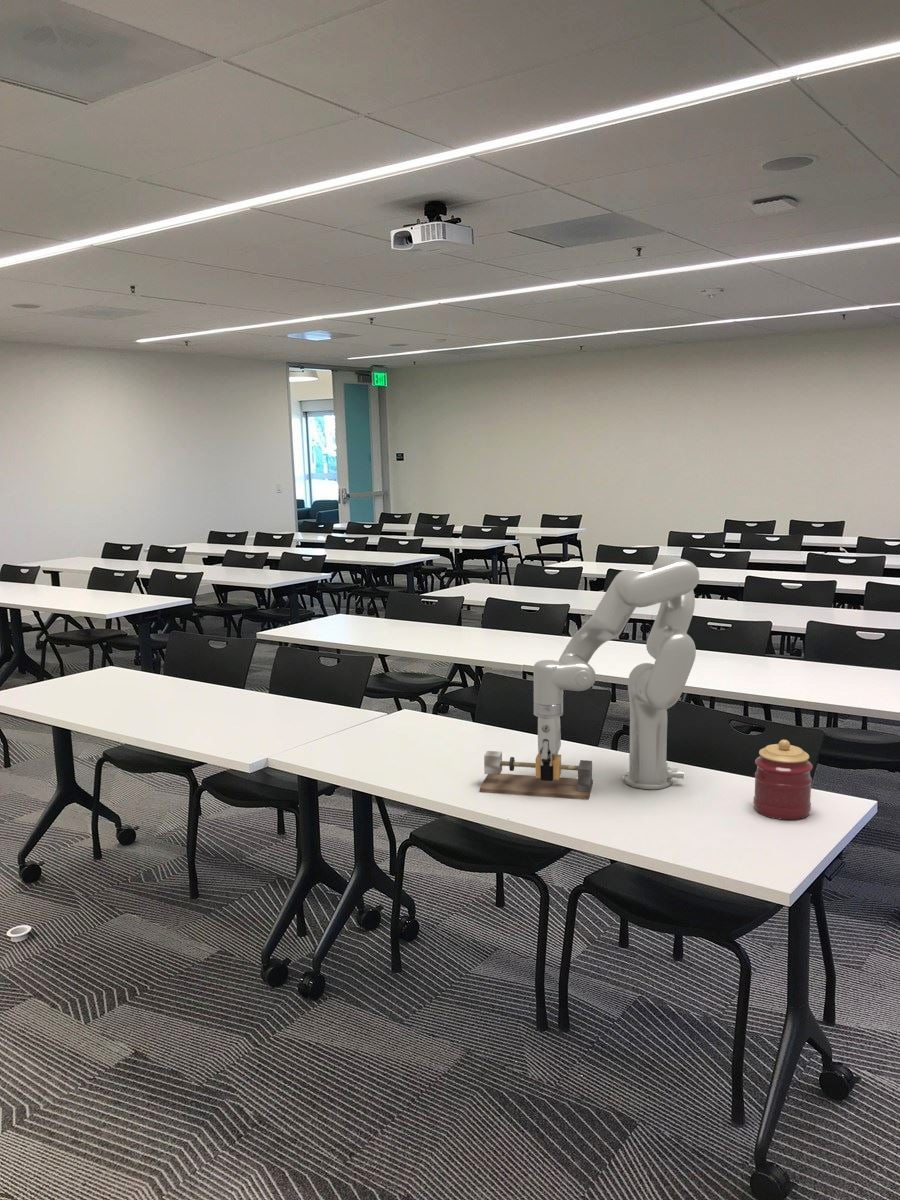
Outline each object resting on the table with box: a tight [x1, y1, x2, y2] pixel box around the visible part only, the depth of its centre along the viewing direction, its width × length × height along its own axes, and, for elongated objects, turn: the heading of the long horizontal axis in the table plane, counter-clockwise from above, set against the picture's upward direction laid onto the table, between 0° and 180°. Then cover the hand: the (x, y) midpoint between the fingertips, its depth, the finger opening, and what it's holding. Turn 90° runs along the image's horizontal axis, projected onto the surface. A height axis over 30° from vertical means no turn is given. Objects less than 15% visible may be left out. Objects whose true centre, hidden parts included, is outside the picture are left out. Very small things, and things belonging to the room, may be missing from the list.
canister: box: [753, 739, 813, 820], centre depth 216 cm, size 13×13×18 cm
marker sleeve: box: [535, 752, 562, 780], centre depth 234 cm, size 6×5×5 cm
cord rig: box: [479, 750, 594, 801], centre depth 235 cm, size 28×12×8 cm, turn 76°
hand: (548, 775), depth 234 cm, fingers closed on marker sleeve, 5 cm apart
